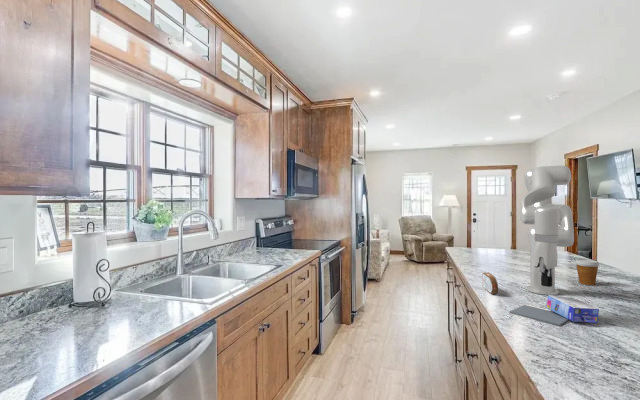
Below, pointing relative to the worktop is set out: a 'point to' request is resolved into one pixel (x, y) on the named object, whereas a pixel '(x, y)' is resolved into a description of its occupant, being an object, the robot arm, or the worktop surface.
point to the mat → (540, 314)
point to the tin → (490, 283)
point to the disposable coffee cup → (587, 271)
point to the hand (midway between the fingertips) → (546, 285)
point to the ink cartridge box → (572, 309)
